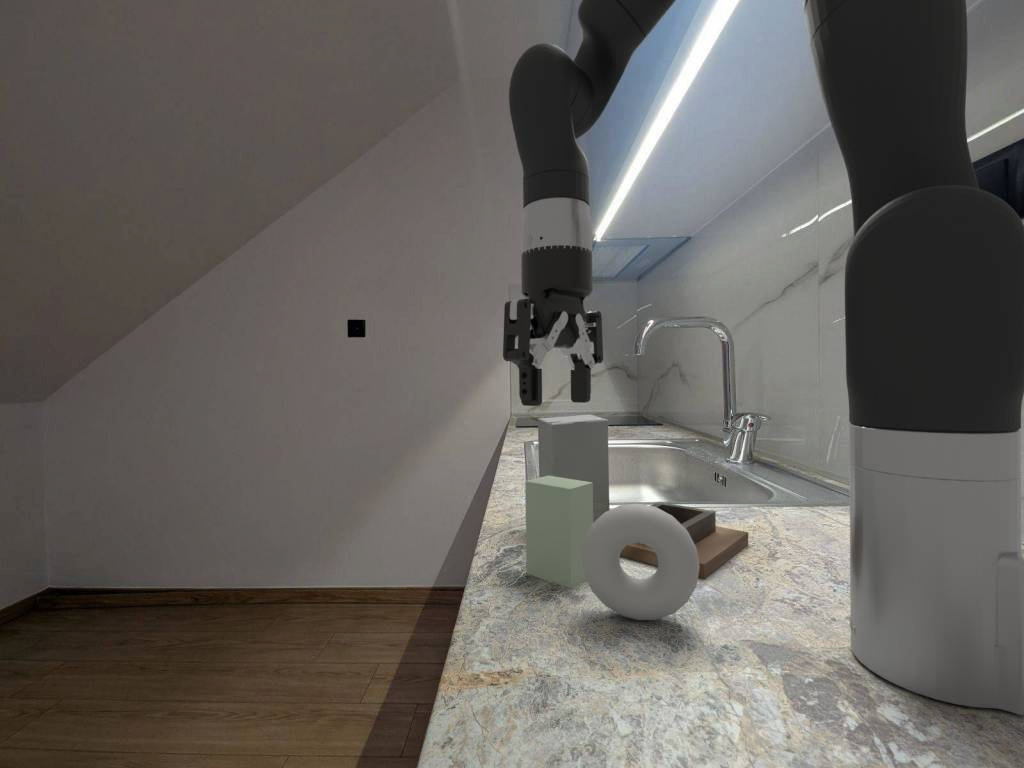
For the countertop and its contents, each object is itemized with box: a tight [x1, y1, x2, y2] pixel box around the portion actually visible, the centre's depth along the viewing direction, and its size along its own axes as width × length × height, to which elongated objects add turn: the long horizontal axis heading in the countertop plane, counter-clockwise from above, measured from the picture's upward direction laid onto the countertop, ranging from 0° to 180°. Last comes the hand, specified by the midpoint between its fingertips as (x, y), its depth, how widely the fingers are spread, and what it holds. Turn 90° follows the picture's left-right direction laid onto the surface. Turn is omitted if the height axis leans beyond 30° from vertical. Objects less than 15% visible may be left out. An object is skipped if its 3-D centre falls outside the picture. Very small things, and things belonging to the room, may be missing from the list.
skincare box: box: [537, 414, 611, 523], centre depth 67 cm, size 8×7×16 cm
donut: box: [581, 503, 700, 621], centre depth 43 cm, size 10×3×10 cm, turn 74°
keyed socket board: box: [620, 501, 749, 579], centre depth 61 cm, size 14×14×4 cm
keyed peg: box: [524, 476, 593, 590], centre depth 52 cm, size 6×4×10 cm, turn 47°
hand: (557, 403), depth 52 cm, fingers open, 8 cm apart
